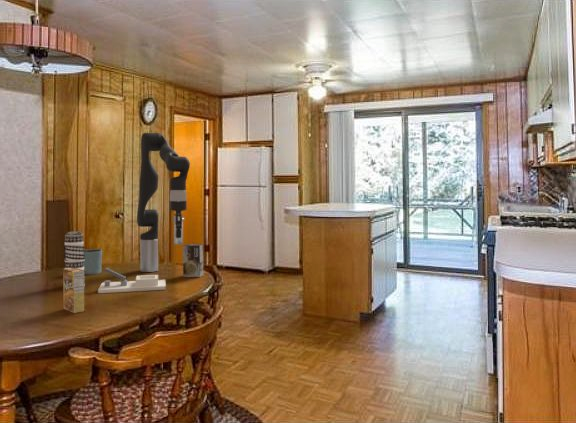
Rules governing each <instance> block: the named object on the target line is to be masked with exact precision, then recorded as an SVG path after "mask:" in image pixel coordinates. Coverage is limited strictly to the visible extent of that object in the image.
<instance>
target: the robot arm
mask: <svg viewBox="0 0 576 423" xmlns="http://www.w3.org/2000/svg"><path fill="white" fill-rule="evenodd" d="M150 152H158V155H159V157H160V159H161V160H162V161H163V162H164V163H165V166H166V167H165V168H166V170H167V171H169V172H172V173H173V172H174V173H179V175H177V176H174V177H171V178H170V180H169V181H170V182H169V184H170V185H169V186H170V188H169V190H170V191H169V210H170V211H172V212H173V211H174V212H175V214H173V218H175V225H176V238H181V229H182V218H184V214H182V212H183V211H187V209H188V208H187V204H188V203H187V198H188V197H187V178H188V173H189V171H190V167H191V165H190V164H191V163H190V160H189V158H188V157H186V156H179V154H178V153H177V151H176V150H174V149H173V148H172V147H171V146H170V144H169V142H168V140H167V139H166V138H165V136H164V135H163V134H162V133H160V132H143V133H142V135H141V138H140V173H139V191H138V192H139V193H138V194H139V195H138V196H139V197H138V207H137V215H136V224H137V226H138V227H141V228H142V227H143V228H145V227H148V228H149V227H150V229H149V230H147V231H145V232H143V233H140V236H139V238H140V239H139V240H140V241H139V243H140V244H139V246H140V248H139V249H140V250H139V252H140V259H139V260H140V272H142V273H151V272H152V273H154V272H157V271H159V212H158V210H157V209H153V208H152V209H146V206H147V205H148V203H149V201H150V199H151V198H152V197H153V196H154V195H155V193H156V192H157V190H158V186H159V173H158V171H157V169H156V168H155V167H154V165H153V162H152V161H151V158H150ZM177 225H180V226H177Z"/></svg>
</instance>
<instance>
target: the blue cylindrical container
mask: <svg viewBox="0 0 576 423" xmlns="http://www.w3.org/2000/svg"><path fill="white" fill-rule="evenodd" d="M84 250H85V252H83V254H85V256H83V257H84V258H85V260H84V261H83V262H84V270H85V272H84V274H85V275H99V274H101V273H102V262H103V261H102V260H103V258H102V257H103V249H101V248H92V249H91V248H90V249H84Z"/></svg>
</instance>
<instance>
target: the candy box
mask: <svg viewBox="0 0 576 423" xmlns="http://www.w3.org/2000/svg"><path fill="white" fill-rule="evenodd" d="M62 274H63V275H62V277H63V278H62V281H63V282H62V283H63V284H62V286H63V288H62V290H63V293H62V296H63V299H62V300H63V309H64V310H66V311H69V312H71V313H72V314H77V313H83V312H85V286H84V284H85V283H84V277H85V275H84V270H80V269H76V268H66V267H65V268H63V269H62Z"/></svg>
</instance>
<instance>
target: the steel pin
mask: <svg viewBox="0 0 576 423" xmlns="http://www.w3.org/2000/svg"><path fill="white" fill-rule="evenodd" d="M172 221H173V244H174V245H175V246H177V245H178V246H179V245H180V246H182V245H183V244H184V221H185V217H183V218H182V229H181V238H176V225H175V218H174V217H172ZM177 226H180V225H177Z"/></svg>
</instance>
